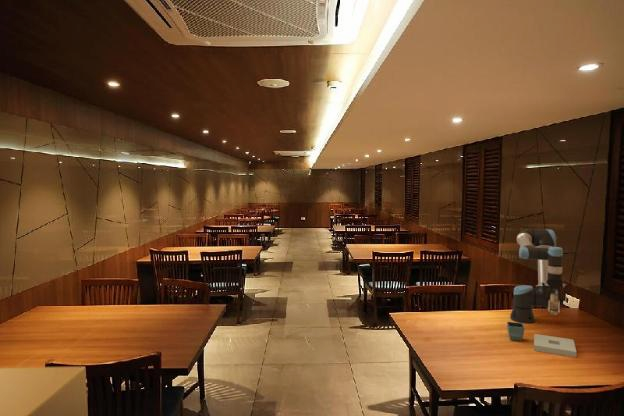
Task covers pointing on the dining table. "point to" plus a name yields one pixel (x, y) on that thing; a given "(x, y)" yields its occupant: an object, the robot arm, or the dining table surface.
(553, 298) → the peg
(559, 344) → the board
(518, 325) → the flower pot
